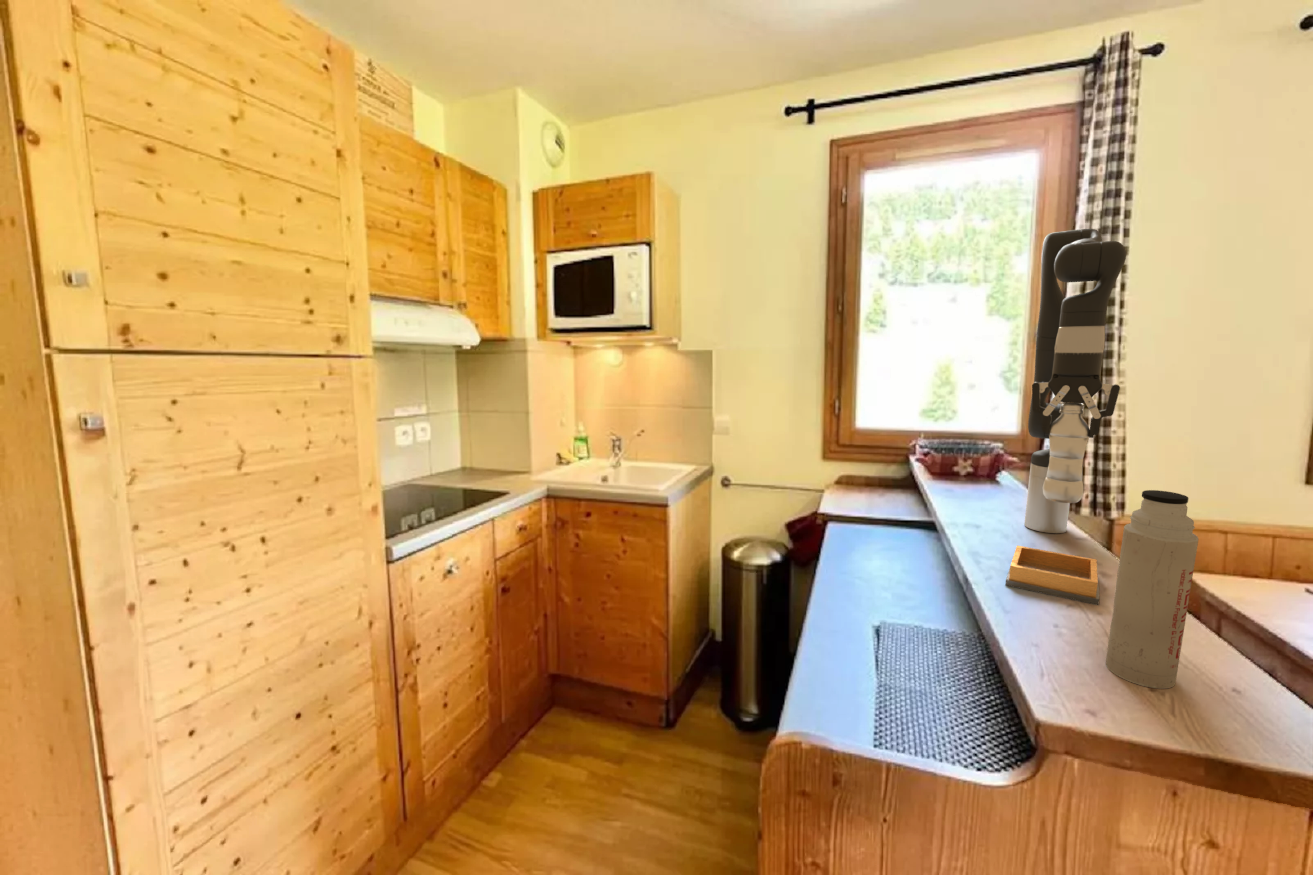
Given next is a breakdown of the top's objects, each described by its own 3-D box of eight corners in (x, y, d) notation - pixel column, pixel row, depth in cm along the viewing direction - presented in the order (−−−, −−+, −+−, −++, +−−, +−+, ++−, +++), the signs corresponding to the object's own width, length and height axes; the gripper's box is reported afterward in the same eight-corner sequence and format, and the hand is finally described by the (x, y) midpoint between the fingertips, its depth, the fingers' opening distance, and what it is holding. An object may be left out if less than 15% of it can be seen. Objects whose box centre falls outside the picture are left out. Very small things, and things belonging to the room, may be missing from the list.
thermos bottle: (1186, 680, 81) (1217, 496, 77) (1156, 694, 78) (1186, 504, 73) (1123, 653, 89) (1147, 483, 84) (1093, 665, 85) (1117, 490, 81)
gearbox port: (1012, 561, 125) (1014, 544, 124) (1097, 578, 116) (1099, 559, 115) (1005, 585, 113) (1007, 565, 113) (1098, 605, 104) (1101, 584, 104)
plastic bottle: (1088, 507, 108) (1102, 405, 105) (1050, 505, 110) (1061, 405, 106) (1071, 498, 114) (1083, 402, 111) (1035, 496, 116) (1045, 401, 112)
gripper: (1125, 350, 105) (1114, 436, 108) (1035, 350, 114) (1026, 430, 117) (1128, 351, 100) (1116, 442, 102) (1032, 351, 108) (1023, 435, 111)
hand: (1068, 435), depth 110 cm, fingers closed on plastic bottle, 6 cm apart
